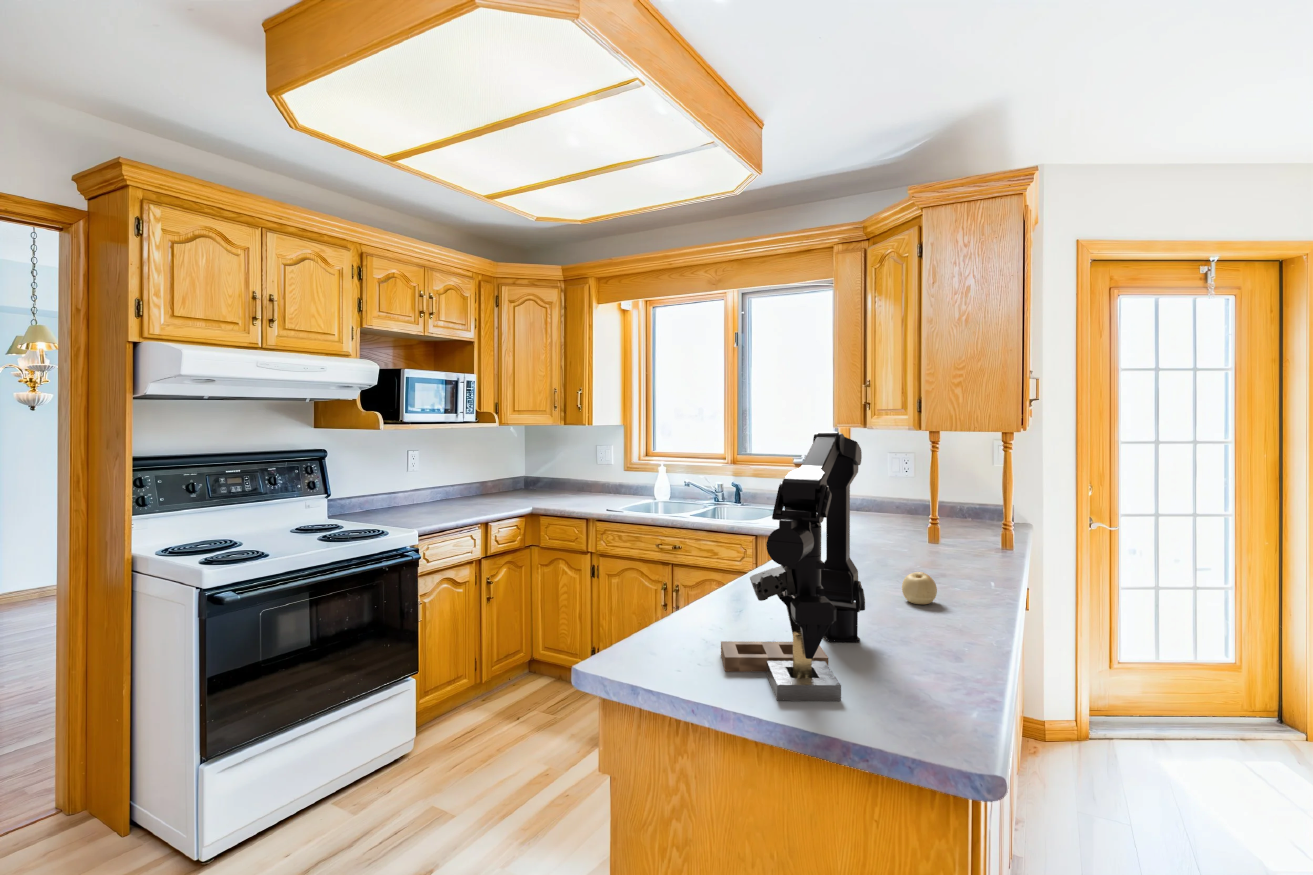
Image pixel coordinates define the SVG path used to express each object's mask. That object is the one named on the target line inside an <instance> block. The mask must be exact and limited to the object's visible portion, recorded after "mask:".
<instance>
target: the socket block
mask: <svg viewBox="0 0 1313 875" xmlns="http://www.w3.org/2000/svg"><path fill="white" fill-rule="evenodd" d="M766 678H767V680H768V682H769V685H770V686H771V689H772V692H773V695H774V697H775V699H776V702H778V701H779V702H780V701H782V702H792V701H793V702H815V701H816V702H842V684H841V682H840V681H839V680H838V678H837V677H836V675H835V674H834V673H833V671H832V670H831V668H830V667H829V664H828V665H827V663H826V662H825V661H812V678H793V661H767V672H766Z"/></svg>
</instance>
